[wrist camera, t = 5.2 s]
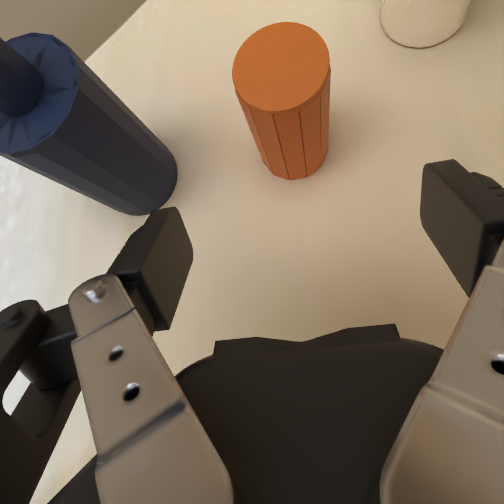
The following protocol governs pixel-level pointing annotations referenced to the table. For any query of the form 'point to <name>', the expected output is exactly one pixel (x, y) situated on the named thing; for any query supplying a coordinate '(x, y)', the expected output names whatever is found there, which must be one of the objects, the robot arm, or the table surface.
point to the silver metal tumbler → (422, 20)
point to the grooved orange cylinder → (286, 96)
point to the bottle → (78, 128)
